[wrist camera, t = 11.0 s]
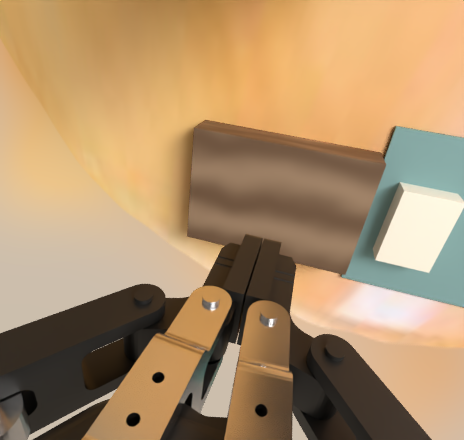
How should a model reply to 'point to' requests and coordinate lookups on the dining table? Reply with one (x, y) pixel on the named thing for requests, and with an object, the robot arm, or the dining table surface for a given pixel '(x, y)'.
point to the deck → (281, 192)
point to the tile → (417, 226)
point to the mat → (397, 170)
